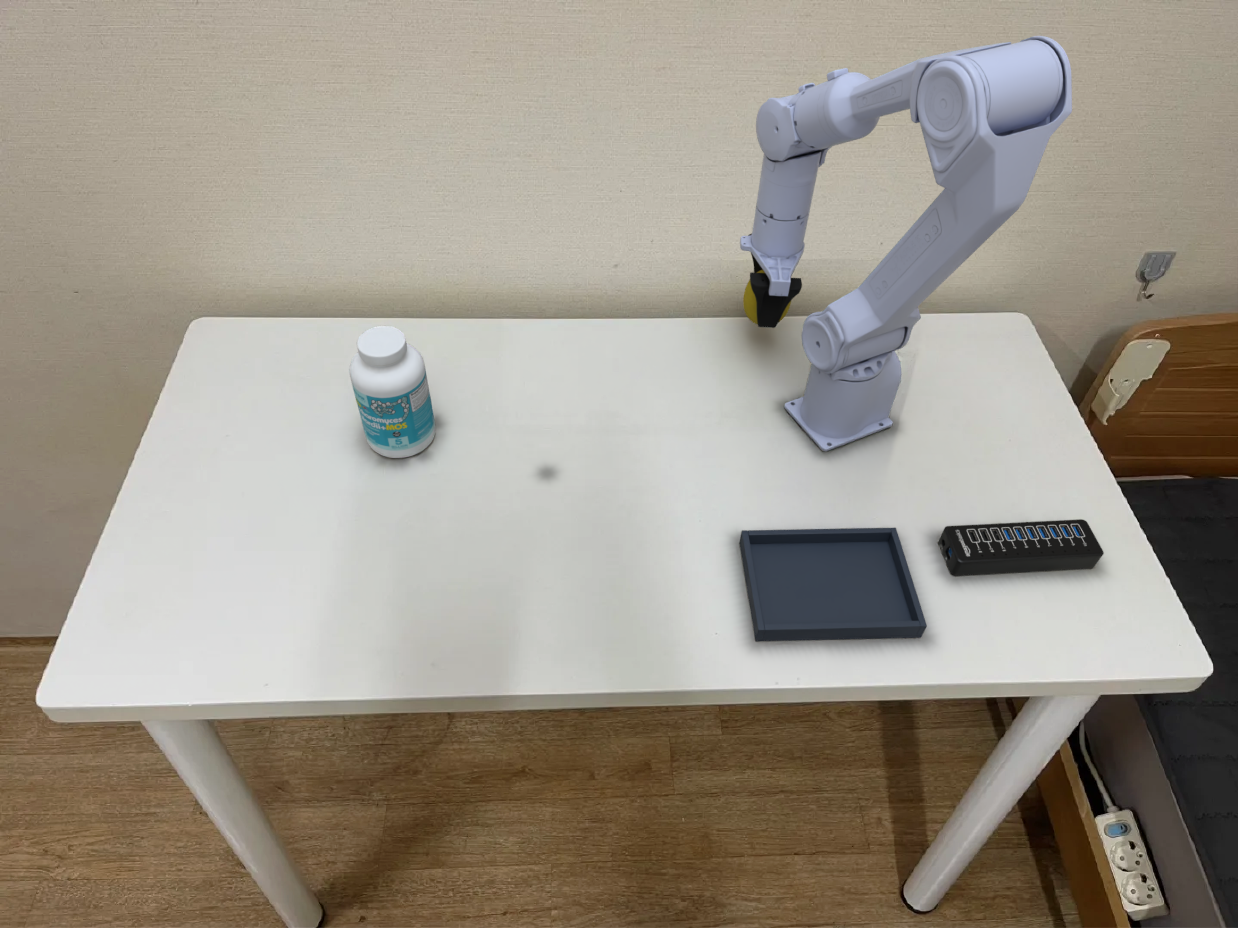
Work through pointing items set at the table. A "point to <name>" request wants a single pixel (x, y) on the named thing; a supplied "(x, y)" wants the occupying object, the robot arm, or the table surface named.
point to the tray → (829, 585)
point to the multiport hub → (1019, 547)
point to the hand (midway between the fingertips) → (765, 309)
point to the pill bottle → (392, 393)
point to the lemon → (750, 303)
